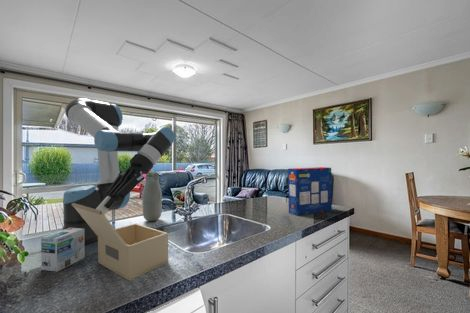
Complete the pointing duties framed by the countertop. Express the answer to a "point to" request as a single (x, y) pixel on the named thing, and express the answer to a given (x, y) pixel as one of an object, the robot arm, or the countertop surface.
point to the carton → (134, 251)
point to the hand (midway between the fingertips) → (96, 216)
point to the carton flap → (99, 224)
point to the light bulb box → (62, 249)
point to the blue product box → (309, 190)
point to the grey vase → (152, 197)
